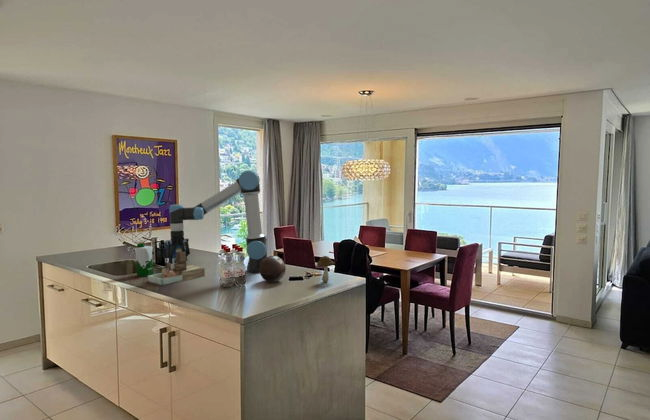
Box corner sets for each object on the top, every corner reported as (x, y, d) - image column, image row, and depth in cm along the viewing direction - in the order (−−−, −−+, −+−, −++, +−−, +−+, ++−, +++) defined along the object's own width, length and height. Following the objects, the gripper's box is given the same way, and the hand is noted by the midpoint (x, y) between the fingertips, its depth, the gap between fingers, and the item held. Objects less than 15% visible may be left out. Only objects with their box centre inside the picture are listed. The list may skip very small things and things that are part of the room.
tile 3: (167, 274, 248) (164, 275, 247) (167, 277, 252) (164, 278, 251) (165, 267, 250) (161, 269, 249) (165, 271, 253) (161, 272, 252)
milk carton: (143, 273, 268) (141, 242, 267) (155, 273, 267) (154, 242, 265) (134, 276, 260) (132, 244, 258) (147, 277, 258) (145, 245, 256)
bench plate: (204, 275, 258) (204, 268, 258) (182, 280, 246) (181, 272, 246) (191, 272, 268) (190, 265, 268) (168, 277, 256) (168, 269, 256)
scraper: (191, 269, 250) (190, 252, 250) (180, 271, 245) (179, 254, 244) (177, 266, 261) (176, 250, 260) (166, 268, 255) (165, 252, 254)
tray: (182, 281, 246) (182, 275, 246) (161, 285, 236) (161, 279, 236) (168, 277, 256) (168, 271, 256) (147, 281, 247) (147, 275, 246)
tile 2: (167, 277, 245) (167, 280, 245) (174, 275, 248) (174, 279, 248) (163, 276, 248) (163, 279, 248) (170, 274, 251) (170, 278, 251)
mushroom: (338, 280, 240) (337, 255, 239) (326, 285, 231) (325, 258, 230) (325, 278, 246) (325, 253, 245) (313, 282, 237) (312, 256, 236)
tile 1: (171, 269, 245) (169, 271, 243) (177, 274, 245) (175, 275, 243) (168, 274, 247) (166, 276, 245) (174, 278, 247) (172, 280, 245)
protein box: (166, 260, 310) (165, 240, 308) (188, 260, 311) (187, 239, 310) (162, 263, 299) (161, 242, 298) (185, 262, 301) (184, 241, 300)
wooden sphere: (281, 285, 232) (280, 258, 231) (256, 284, 235) (255, 258, 234) (288, 278, 247) (288, 253, 246) (264, 278, 250) (263, 253, 249)
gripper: (188, 228, 261) (190, 264, 263) (158, 231, 246) (159, 269, 247) (195, 228, 256) (196, 265, 258) (164, 232, 241) (166, 271, 243)
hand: (178, 267), depth 253 cm, fingers closed on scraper, 7 cm apart
